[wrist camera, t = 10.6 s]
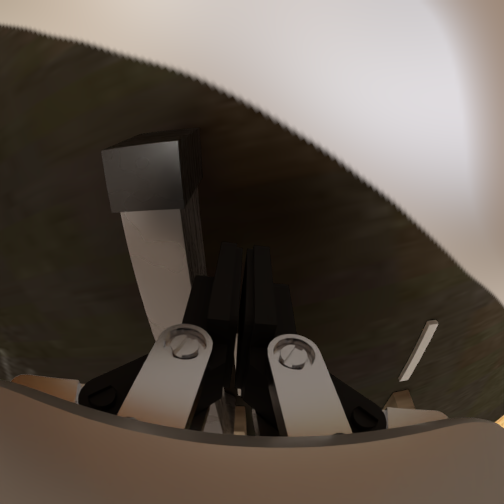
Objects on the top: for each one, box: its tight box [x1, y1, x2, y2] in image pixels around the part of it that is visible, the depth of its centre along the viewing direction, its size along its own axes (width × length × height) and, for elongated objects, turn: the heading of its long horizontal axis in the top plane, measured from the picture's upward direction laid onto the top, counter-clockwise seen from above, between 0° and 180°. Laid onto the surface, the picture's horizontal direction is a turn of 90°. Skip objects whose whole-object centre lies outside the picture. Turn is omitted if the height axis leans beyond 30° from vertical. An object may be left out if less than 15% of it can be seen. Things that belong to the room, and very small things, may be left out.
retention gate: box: [101, 128, 236, 435], centre depth 16 cm, size 2×25×8 cm, turn 1°
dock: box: [234, 390, 415, 436], centre depth 28 cm, size 11×20×3 cm, turn 91°
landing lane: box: [234, 320, 438, 396], centre depth 22 cm, size 8×17×1 cm, turn 91°
